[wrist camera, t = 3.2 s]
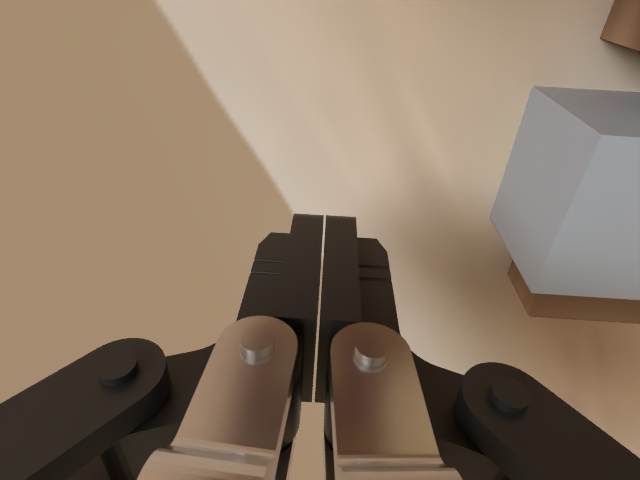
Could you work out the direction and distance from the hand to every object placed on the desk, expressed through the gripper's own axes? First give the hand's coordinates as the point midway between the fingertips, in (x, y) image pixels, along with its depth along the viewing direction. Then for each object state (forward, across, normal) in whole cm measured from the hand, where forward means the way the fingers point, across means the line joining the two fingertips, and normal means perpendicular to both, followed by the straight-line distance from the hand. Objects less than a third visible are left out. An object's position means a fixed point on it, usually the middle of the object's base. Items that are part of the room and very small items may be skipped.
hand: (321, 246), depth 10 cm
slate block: (+6, -9, 0) cm, 11 cm away
